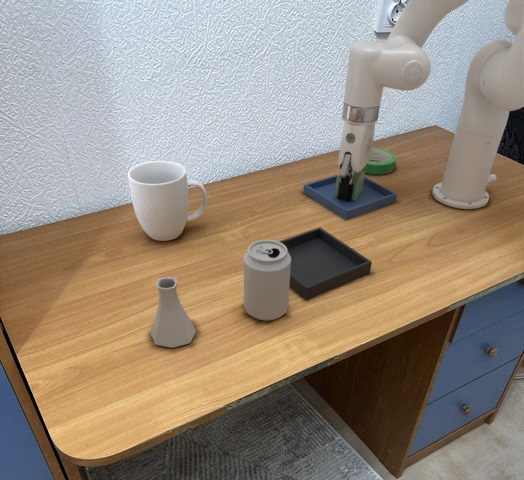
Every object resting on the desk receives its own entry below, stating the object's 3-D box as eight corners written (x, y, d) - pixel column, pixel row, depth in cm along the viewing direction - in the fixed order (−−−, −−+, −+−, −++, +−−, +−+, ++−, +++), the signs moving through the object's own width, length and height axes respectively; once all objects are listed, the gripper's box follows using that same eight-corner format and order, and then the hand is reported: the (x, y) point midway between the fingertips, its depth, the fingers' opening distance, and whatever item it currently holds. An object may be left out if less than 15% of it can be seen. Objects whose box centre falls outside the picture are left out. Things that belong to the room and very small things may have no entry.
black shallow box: (318, 237, 104) (319, 226, 103) (369, 273, 95) (372, 261, 94) (257, 259, 98) (257, 248, 96) (305, 300, 89) (307, 288, 87)
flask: (152, 320, 84) (143, 269, 77) (196, 318, 85) (191, 268, 78) (149, 350, 79) (139, 298, 72) (196, 348, 79) (190, 296, 73)
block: (341, 187, 120) (344, 167, 117) (361, 192, 118) (365, 171, 115) (334, 196, 117) (337, 175, 113) (355, 201, 115) (358, 179, 112)
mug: (202, 214, 111) (197, 154, 102) (216, 239, 103) (213, 177, 95) (133, 224, 107) (123, 164, 98) (143, 251, 100) (132, 188, 91)
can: (283, 326, 84) (287, 264, 75) (239, 320, 85) (238, 258, 76) (291, 299, 89) (295, 239, 81) (249, 293, 90) (249, 233, 82)
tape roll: (367, 154, 137) (369, 144, 135) (402, 166, 131) (404, 156, 130) (342, 165, 131) (343, 155, 129) (378, 179, 125) (380, 168, 124)
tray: (351, 177, 126) (352, 169, 124) (395, 202, 117) (397, 193, 115) (303, 192, 119) (303, 184, 118) (345, 219, 110) (347, 211, 109)
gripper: (365, 127, 98) (352, 213, 111) (389, 103, 110) (374, 183, 122) (329, 121, 101) (320, 206, 113) (356, 97, 112) (344, 177, 124)
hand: (348, 193), depth 117 cm, fingers closed on block, 5 cm apart
